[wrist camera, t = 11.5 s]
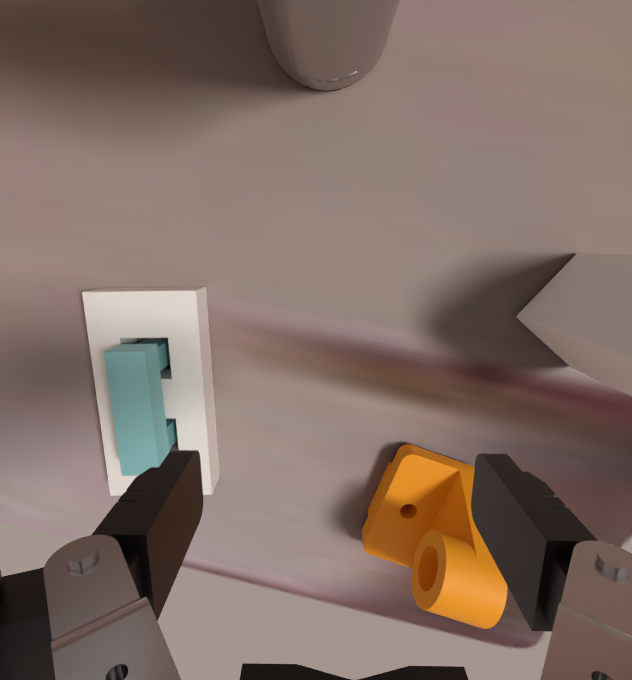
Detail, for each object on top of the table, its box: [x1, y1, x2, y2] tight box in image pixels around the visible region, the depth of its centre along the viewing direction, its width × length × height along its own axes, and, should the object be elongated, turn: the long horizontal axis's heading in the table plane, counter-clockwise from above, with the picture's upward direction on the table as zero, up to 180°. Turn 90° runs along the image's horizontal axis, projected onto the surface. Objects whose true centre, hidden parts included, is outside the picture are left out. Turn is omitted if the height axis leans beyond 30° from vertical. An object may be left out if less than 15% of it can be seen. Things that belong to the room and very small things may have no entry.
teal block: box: [104, 339, 178, 476], centre depth 34 cm, size 10×3×6 cm, turn 2°
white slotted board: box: [82, 287, 220, 495], centre depth 36 cm, size 18×9×3 cm, turn 1°
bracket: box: [362, 444, 507, 629], centre depth 34 cm, size 11×7×12 cm, turn 160°
